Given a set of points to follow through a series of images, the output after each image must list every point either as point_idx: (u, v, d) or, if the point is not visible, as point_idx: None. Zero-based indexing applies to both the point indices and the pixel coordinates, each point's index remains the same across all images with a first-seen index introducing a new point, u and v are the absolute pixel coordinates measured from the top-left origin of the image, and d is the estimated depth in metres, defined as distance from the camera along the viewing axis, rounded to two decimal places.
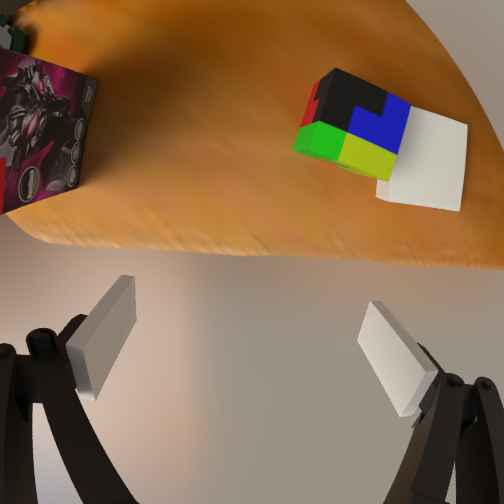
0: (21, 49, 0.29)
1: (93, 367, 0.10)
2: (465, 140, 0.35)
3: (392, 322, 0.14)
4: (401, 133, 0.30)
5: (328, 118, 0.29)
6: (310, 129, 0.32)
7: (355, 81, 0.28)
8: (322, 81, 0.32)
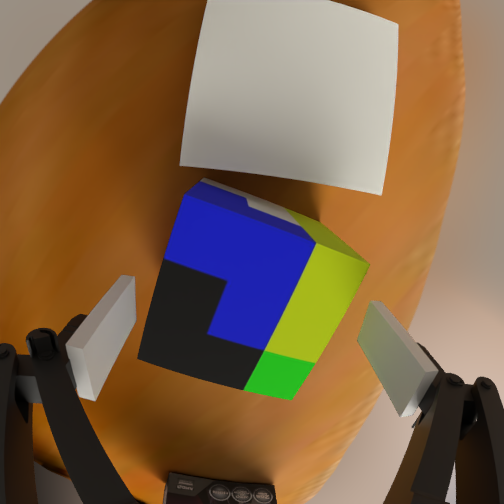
0: None
1: (93, 367, 0.10)
2: None
3: (392, 322, 0.14)
4: (263, 229, 0.14)
5: (237, 377, 0.17)
6: None
7: (155, 328, 0.16)
8: None
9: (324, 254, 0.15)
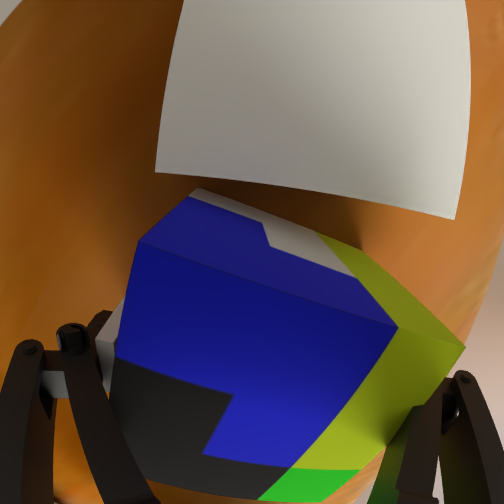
0: None
1: None
2: None
3: None
4: (306, 311, 0.07)
5: (248, 490, 0.10)
6: None
7: None
8: None
9: (407, 343, 0.07)
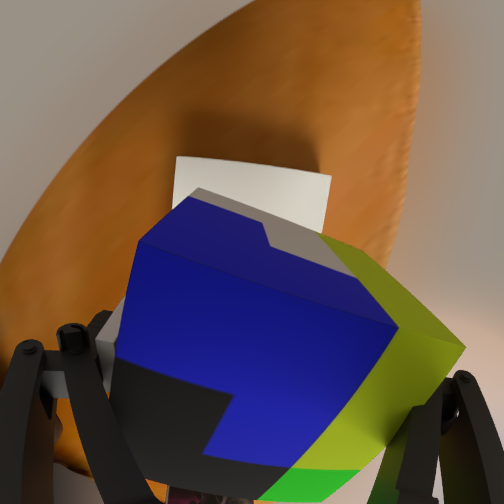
0: None
1: None
2: (205, 162, 0.26)
3: None
4: (307, 311, 0.07)
5: (249, 490, 0.10)
6: None
7: None
8: None
9: (407, 344, 0.07)
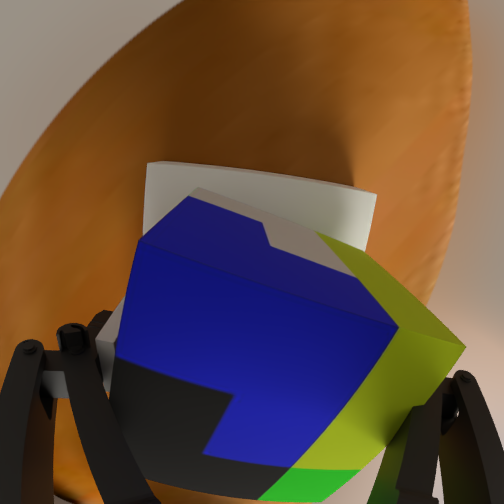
0: None
1: None
2: (190, 171, 0.17)
3: None
4: (307, 311, 0.07)
5: (249, 490, 0.10)
6: None
7: None
8: None
9: (408, 343, 0.07)
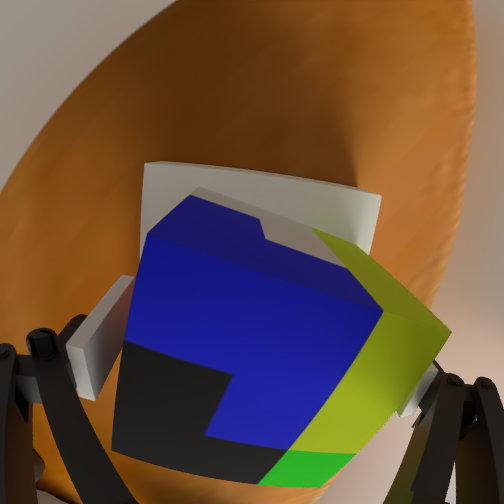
0: None
1: (93, 367, 0.10)
2: (189, 172, 0.16)
3: None
4: (297, 294, 0.08)
5: (249, 474, 0.10)
6: None
7: (128, 424, 0.09)
8: None
9: (393, 326, 0.08)
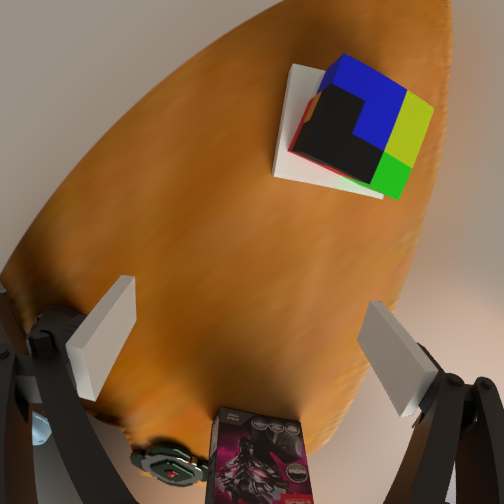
0: (173, 449, 0.54)
1: (93, 367, 0.10)
2: (314, 70, 0.30)
3: (392, 322, 0.14)
4: (382, 77, 0.22)
5: (367, 171, 0.24)
6: (365, 184, 0.28)
7: (320, 127, 0.23)
8: (299, 154, 0.29)
9: (411, 96, 0.22)
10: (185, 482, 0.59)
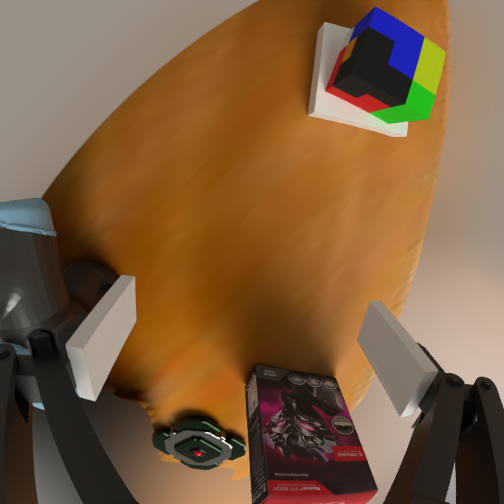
0: (201, 422, 0.54)
1: (93, 367, 0.10)
2: (342, 28, 0.31)
3: (392, 322, 0.14)
4: (405, 26, 0.23)
5: (402, 93, 0.26)
6: (398, 110, 0.29)
7: (363, 56, 0.24)
8: (342, 85, 0.30)
9: (428, 42, 0.23)
10: (211, 463, 0.59)
